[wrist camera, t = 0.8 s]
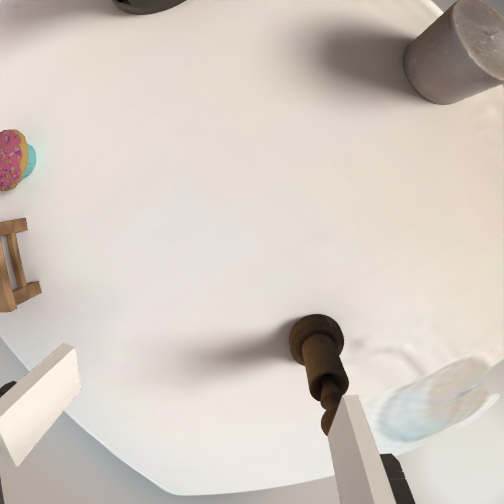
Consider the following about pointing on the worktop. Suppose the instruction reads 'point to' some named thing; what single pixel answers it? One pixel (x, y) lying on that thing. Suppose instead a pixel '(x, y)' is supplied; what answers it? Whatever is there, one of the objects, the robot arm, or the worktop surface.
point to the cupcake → (14, 159)
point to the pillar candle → (458, 54)
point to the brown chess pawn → (321, 361)
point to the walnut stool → (3, 296)
